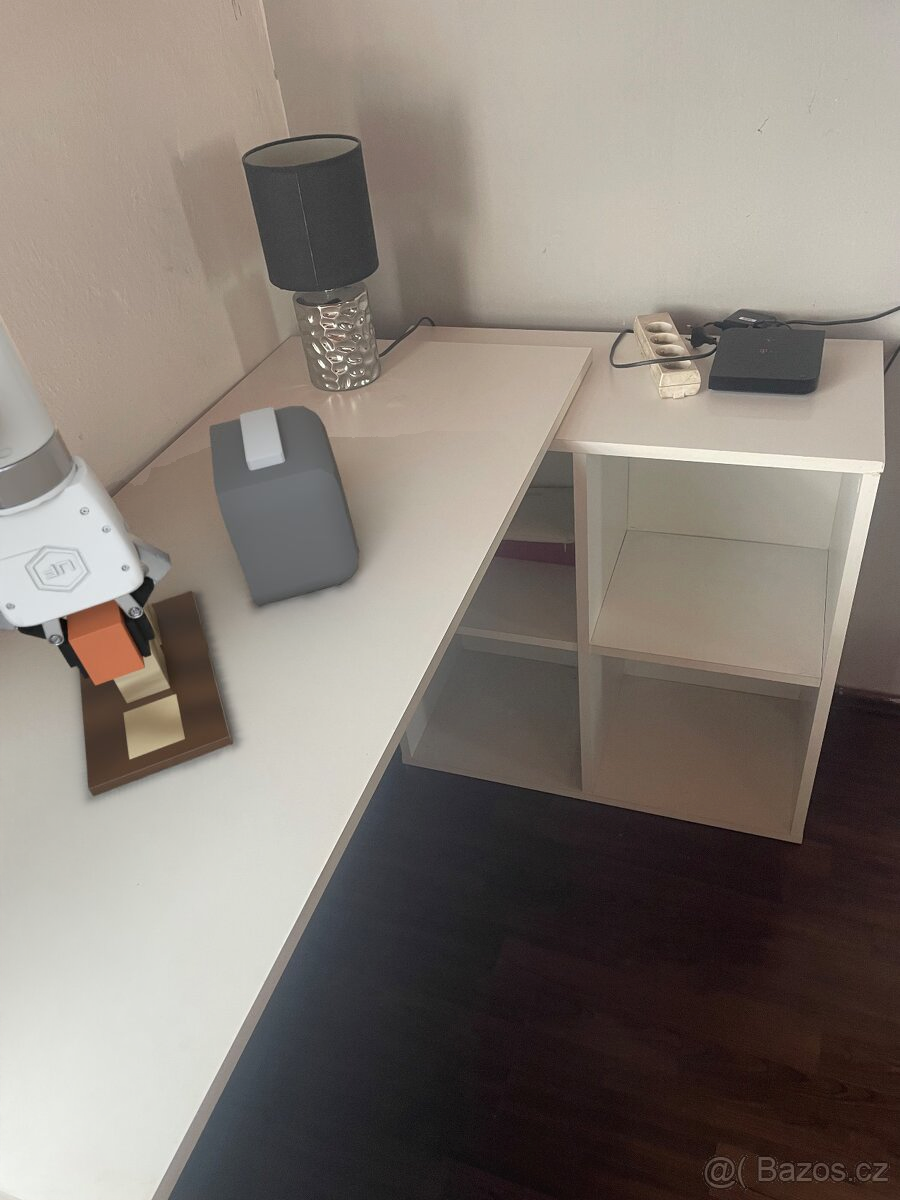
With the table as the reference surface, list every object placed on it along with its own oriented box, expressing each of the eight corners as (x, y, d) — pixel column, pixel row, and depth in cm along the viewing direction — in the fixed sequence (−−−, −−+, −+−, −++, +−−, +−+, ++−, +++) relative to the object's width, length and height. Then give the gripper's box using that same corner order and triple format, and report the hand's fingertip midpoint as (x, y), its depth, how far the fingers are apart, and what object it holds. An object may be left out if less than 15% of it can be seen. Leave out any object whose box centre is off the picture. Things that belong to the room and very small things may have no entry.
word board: (232, 743, 74) (228, 735, 74) (93, 796, 72) (87, 788, 71) (195, 597, 91) (191, 589, 90) (80, 636, 88) (75, 628, 88)
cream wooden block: (170, 688, 79) (150, 649, 76) (127, 703, 78) (105, 665, 75) (163, 654, 83) (145, 616, 80) (122, 668, 82) (101, 630, 79)
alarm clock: (248, 528, 99) (204, 406, 89) (344, 503, 100) (312, 380, 90) (260, 617, 87) (211, 488, 76) (369, 588, 88) (336, 457, 78)
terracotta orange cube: (145, 668, 69) (121, 622, 66) (95, 685, 68) (68, 641, 65) (139, 630, 73) (115, 585, 70) (91, 646, 72) (65, 602, 69)
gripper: (-125, 536, 54) (12, 725, 66) (140, 454, 57) (225, 649, 69) (-111, 479, 60) (13, 663, 72) (129, 407, 63) (210, 595, 75)
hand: (116, 654), depth 70 cm, fingers closed on terracotta orange cube, 4 cm apart
